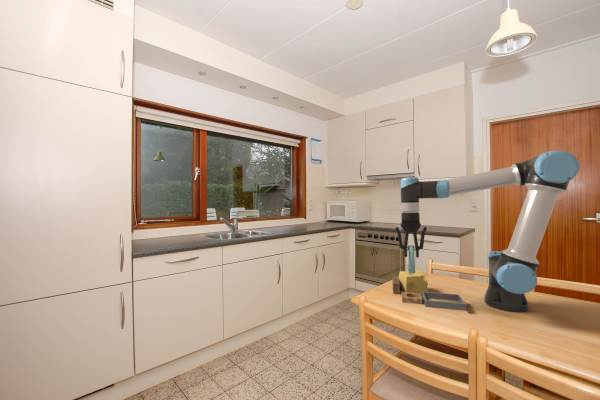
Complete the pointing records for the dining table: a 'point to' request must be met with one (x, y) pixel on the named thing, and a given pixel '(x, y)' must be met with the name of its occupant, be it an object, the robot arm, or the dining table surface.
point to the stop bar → (396, 285)
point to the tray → (444, 305)
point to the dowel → (411, 259)
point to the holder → (411, 297)
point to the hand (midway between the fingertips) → (411, 264)
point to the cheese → (413, 282)
